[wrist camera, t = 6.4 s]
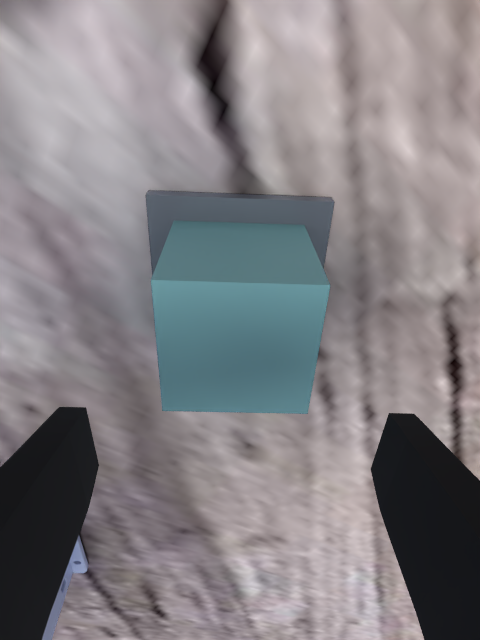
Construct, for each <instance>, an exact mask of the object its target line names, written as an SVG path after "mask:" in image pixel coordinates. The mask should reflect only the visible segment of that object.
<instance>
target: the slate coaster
mask: <svg viewBox="0 0 480 640" xmlns="http://www.w3.org/2000/svg"><path fill="white" fill-rule="evenodd" d="M146 205H147V217H148V229H149V241H150V252H151V264H152V276H153V273H154V271H155V268H156V265H157V263H158V260H159V258H160V255H161V253H162V250H163V247H164V245H165V242H166V240H167V237H168V234H169V232H170V229H171V227H172V224H173V222H174V221H200V222H230V223H260V224H289V225H305V228H306V230H307V232H308V235H309V237H310V239H311V241H312V244H313V246H314V248H315V251H316V253H317V255H318V258H319V260H320V262H321V265H322V267H323V269H324V262H325V256H326V250H327V244H328V238H329V232H330V226H331V220H332V214H333V208H334V200H333V199H332V198H331V197H309V196H282V195H255V194H228V193H201V192H173V191H148V192H147V194H146Z"/></svg>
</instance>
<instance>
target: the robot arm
mask: <svg viewBox="0 0 480 640" xmlns="http://www.w3.org/2000/svg"><path fill="white" fill-rule="evenodd" d="M98 466H99V464H98V459H97V455H96V450H95V446H94V441H93V437H92V432H91V428H90V423H89V419H88V415H87V410H86V408H82V407H59V408H58V409H57V410H56V411H55V412H54V413H53V414H52V415H51V416H50V417H49V418H48V419H47V420H46V421H45V422H44V423H43V424H42V425H41V426H40V427H39V428H38V429H37V430H36V432H35V433H34V434H33V435H32V436H31V437H30V438H29V439H28V440H27V441H26V442H25V443H24V444H23V445H22V446H21V447H20V448H19V449H18V450H17V451H16V452H15V453H14V454H13V455H12V456H11V457H10V458H9V459H8V460H7V461H6V462H5V463H4V464H3V465H2V466H1V467H0V640H52V637H53V634H54V631H55V627H56V624H57V621H58V618H59V615H60V612H61V609H62V605H63V602H64V599H65V596H66V593H67V590H68V587H69V583H70V580H71V577H72V574H73V573H85V572H86V571H87V569H88V562H87V559H86V556H85V553H84V549H83V546H82V543H81V540H80V537H79V533H80V531H81V528H82V525H83V522H84V519H85V517H86V514H87V511H88V508H89V504H90V500H91V496H92V492H93V488H94V484H95V479H96V475H97V471H98ZM371 472H372V477H373V481H374V486H375V491H376V495H377V499H378V503H379V508H380V512H381V514H382V517H383V520H384V523H385V526H386V529H387V532H388V535H389V538H390V541H391V543H392V546H393V549H394V552H395V555H396V558H397V560H398V563H399V566H400V569H401V572H402V574H403V577H404V580H405V583H406V586H407V589H408V591H409V594H410V597H411V600H412V603H413V605H414V608H415V611H416V614H417V617H418V620H419V623H420V627H421V630H422V633H423V636H424V640H480V480H479V479H478V478H477V477H476V476H474V475H473V473H472V472H471V471H470V470H469V469H468V468H467V467H466V466H465V465H464V464H463V463H462V462H461V461H460V460H459V459H458V458H457V457H456V456H455V455H454V454H453V453H452V452H451V451H450V450H449V449H448V448H447V447H446V446H445V445H444V444H443V443H442V442H441V441H440V440H439V439H438V438H437V437H436V436H435V435H434V434H433V433H432V431H431V430H430V429H429V428H428V427H427V426H426V425H425V424H424V423H423V422H422V421H421V420H420V419H419V418H418V417H417V416H416V415H415V414H400V413H389V415H388V418H387V421H386V424H385V427H384V430H383V433H382V436H381V439H380V442H379V445H378V449H377V452H376V455H375V458H374V461H373V464H372V467H371Z"/></svg>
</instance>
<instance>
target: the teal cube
mask: <svg viewBox="0 0 480 640" xmlns="http://www.w3.org/2000/svg"><path fill="white" fill-rule="evenodd" d="M151 287H152V298H153V310H154V321H155V332H156V344H157V355H158V366H159V377H160V389H161V400H162V411H196V412H246V413H297V414H308V408H309V403H310V397H311V391H312V386H313V380H314V374H315V369H316V363H317V358H318V352H319V346H320V341H321V335H322V329H323V324H324V318H325V312H326V307H327V301H328V295H329V290H330V283H329V281H328V279H327V276H326V274H325V272H324V269H323V267H322V265H321V262H320V260H319V258H318V255H317V253H316V251H315V248H314V246H313V244H312V241H311V239H310V237H309V235H308V232H307V230H306V228H305V225H289V224H260V223H230V222H200V221H174V222H173V224H172V227H171V229H170V232H169V234H168V237H167V240H166V242H165V245H164V247H163V250H162V253H161V255H160V258H159V260H158V263H157V265H156V268H155V271H154V273H153V276H152V278H151Z"/></svg>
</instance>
